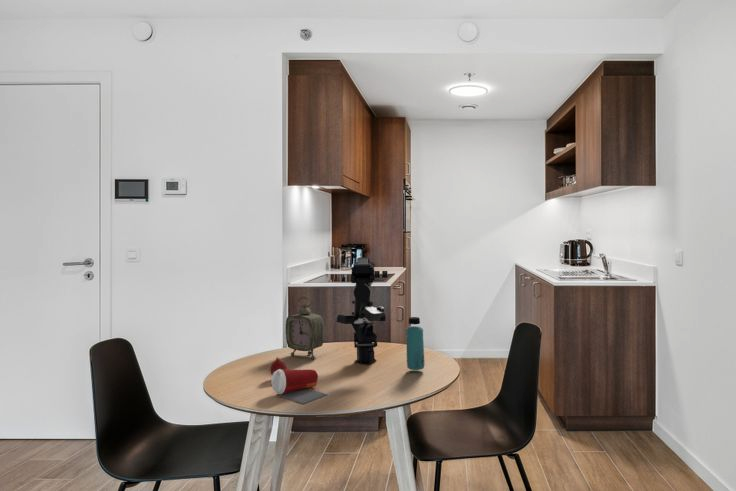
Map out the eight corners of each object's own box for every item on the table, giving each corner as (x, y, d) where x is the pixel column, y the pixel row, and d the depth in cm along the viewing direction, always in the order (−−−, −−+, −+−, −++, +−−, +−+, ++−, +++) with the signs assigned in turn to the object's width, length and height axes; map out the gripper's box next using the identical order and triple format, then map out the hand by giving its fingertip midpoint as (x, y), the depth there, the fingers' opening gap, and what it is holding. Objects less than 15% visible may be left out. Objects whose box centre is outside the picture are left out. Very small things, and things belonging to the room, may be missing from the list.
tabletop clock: (286, 356, 195) (284, 297, 194) (300, 351, 203) (298, 294, 202) (313, 361, 188) (311, 299, 187) (327, 355, 195) (325, 296, 194)
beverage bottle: (424, 374, 168) (423, 319, 167) (405, 373, 169) (404, 319, 168) (425, 368, 174) (424, 315, 173) (407, 368, 175) (406, 315, 174)
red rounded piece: (289, 377, 168) (289, 355, 167) (281, 382, 162) (281, 360, 162) (275, 376, 170) (274, 354, 169) (267, 381, 164) (266, 358, 164)
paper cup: (310, 362, 160) (273, 365, 151) (321, 373, 154) (284, 376, 145) (305, 382, 161) (268, 386, 152) (316, 394, 155) (278, 399, 146)
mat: (276, 394, 150) (276, 394, 150) (300, 386, 158) (300, 385, 158) (303, 404, 142) (303, 403, 142) (327, 395, 149) (327, 394, 149)
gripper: (355, 301, 157) (354, 348, 156) (396, 299, 168) (395, 343, 168) (336, 298, 165) (334, 342, 165) (376, 296, 177) (375, 338, 177)
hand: (361, 341), depth 168 cm, fingers closed
